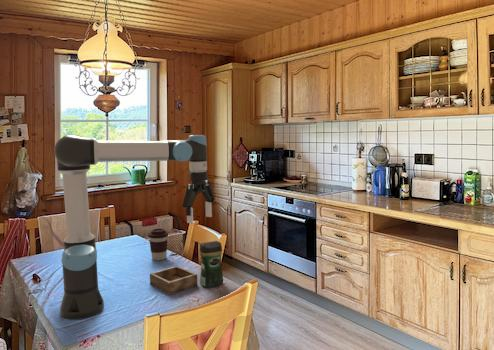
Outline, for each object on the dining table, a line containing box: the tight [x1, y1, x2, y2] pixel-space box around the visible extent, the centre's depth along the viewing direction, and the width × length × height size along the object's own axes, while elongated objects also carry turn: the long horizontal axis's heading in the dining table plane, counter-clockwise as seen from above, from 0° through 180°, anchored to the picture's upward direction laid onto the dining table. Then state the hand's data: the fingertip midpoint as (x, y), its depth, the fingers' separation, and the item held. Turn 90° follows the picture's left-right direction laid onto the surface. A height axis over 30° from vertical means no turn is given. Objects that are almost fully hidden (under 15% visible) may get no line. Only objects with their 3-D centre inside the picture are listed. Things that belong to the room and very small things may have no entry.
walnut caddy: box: [149, 265, 198, 296], centre depth 177 cm, size 14×15×5 cm
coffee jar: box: [198, 240, 224, 288], centre depth 177 cm, size 10×8×19 cm
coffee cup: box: [147, 228, 169, 261], centre depth 212 cm, size 10×10×15 cm
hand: (199, 219), depth 180 cm, fingers open, 13 cm apart
